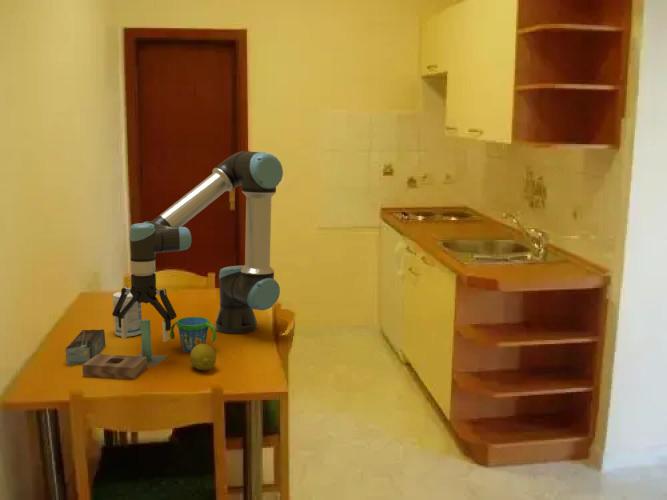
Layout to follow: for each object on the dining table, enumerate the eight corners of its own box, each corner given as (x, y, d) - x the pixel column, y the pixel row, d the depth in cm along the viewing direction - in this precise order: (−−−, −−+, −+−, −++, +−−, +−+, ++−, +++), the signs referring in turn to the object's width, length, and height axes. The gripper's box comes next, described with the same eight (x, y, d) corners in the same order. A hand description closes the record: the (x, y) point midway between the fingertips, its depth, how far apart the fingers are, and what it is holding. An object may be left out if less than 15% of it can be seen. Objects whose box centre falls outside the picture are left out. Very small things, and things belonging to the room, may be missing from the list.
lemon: (218, 374, 225) (217, 349, 224) (191, 376, 224) (191, 350, 222) (214, 362, 236) (214, 338, 234) (189, 364, 234) (188, 340, 232)
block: (147, 369, 229) (146, 356, 228) (134, 380, 219) (133, 367, 219) (98, 366, 231) (97, 354, 231) (83, 377, 222) (82, 364, 221)
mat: (167, 357, 241) (167, 355, 240) (156, 367, 231) (156, 366, 231) (138, 355, 242) (138, 354, 242) (125, 365, 232) (125, 364, 232)
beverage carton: (65, 366, 232) (63, 346, 231) (82, 347, 251) (81, 328, 250) (91, 366, 232) (89, 345, 231) (106, 346, 251) (105, 328, 250)
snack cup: (222, 347, 250) (221, 318, 248) (207, 357, 240) (206, 327, 238) (180, 343, 255) (179, 314, 253) (164, 352, 245) (163, 322, 243)
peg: (153, 358, 238) (151, 319, 235) (149, 361, 235) (148, 322, 232) (144, 358, 238) (142, 319, 236) (140, 361, 235) (138, 321, 233)
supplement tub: (146, 334, 264) (144, 294, 261) (119, 339, 259) (117, 298, 256) (137, 328, 272) (135, 289, 269) (111, 332, 267) (109, 292, 264)
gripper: (185, 272, 233) (187, 338, 237) (110, 268, 236) (112, 333, 240) (177, 277, 226) (178, 345, 229) (99, 273, 229) (102, 340, 233)
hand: (145, 339), depth 235 cm, fingers open, 13 cm apart
